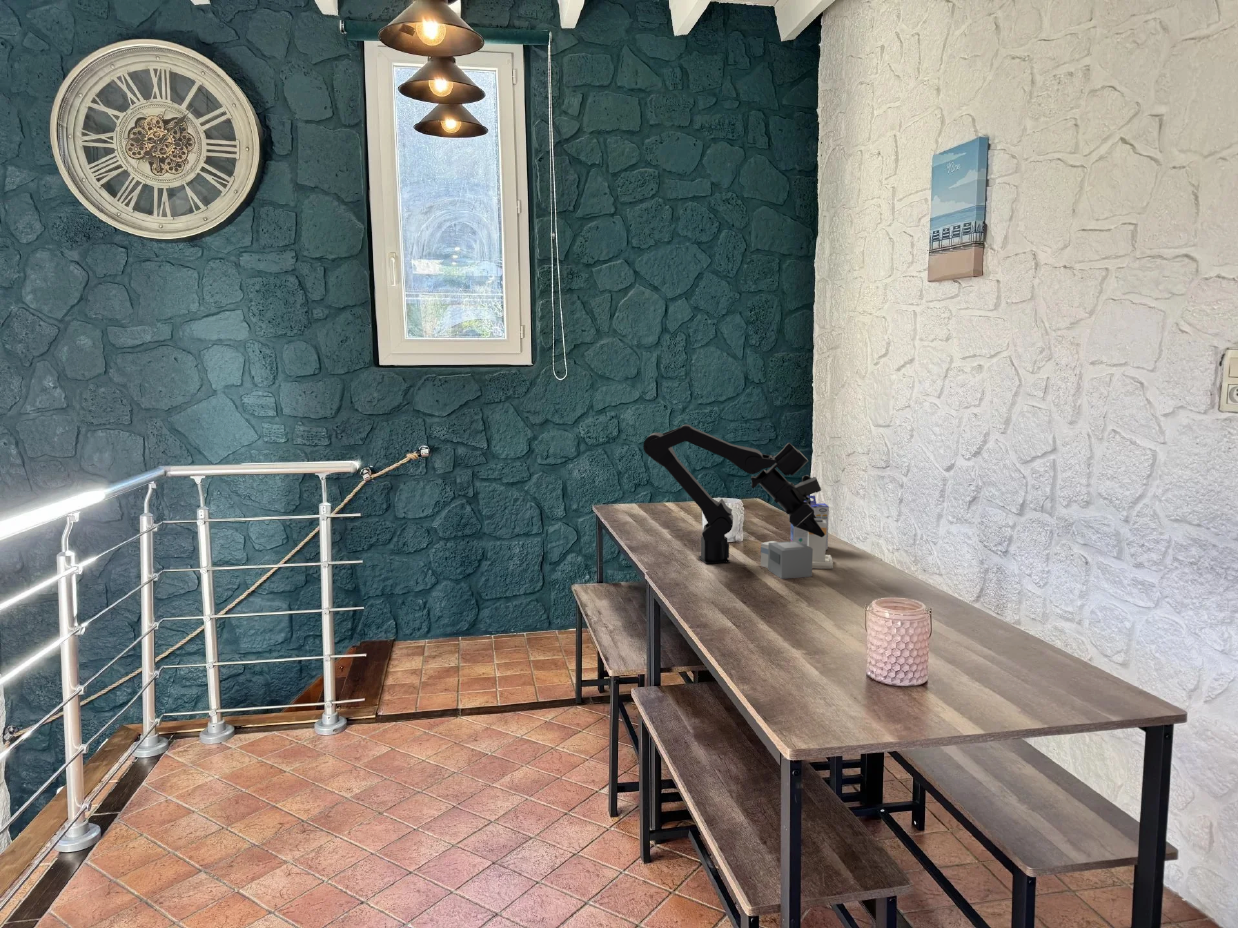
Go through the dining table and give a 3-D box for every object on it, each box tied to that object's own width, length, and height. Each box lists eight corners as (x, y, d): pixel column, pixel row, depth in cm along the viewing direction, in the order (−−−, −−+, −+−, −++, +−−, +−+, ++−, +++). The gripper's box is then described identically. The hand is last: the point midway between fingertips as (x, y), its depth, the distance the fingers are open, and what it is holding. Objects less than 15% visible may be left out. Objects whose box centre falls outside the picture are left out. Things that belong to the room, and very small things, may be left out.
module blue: (772, 569, 205) (772, 546, 205) (760, 565, 209) (760, 543, 208) (784, 566, 208) (785, 544, 207) (772, 563, 211) (773, 540, 210)
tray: (800, 567, 207) (800, 561, 207) (798, 559, 215) (798, 553, 214) (833, 568, 205) (833, 563, 205) (830, 560, 213) (830, 554, 213)
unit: (780, 578, 197) (781, 550, 196) (767, 570, 205) (768, 542, 204) (812, 576, 199) (813, 547, 198) (798, 567, 207) (798, 540, 206)
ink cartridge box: (824, 545, 229) (825, 494, 227) (828, 550, 224) (830, 498, 222) (789, 545, 230) (790, 494, 227) (792, 550, 224) (794, 498, 222)
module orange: (807, 562, 208) (809, 520, 206) (806, 558, 212) (808, 517, 211) (825, 563, 207) (826, 521, 206) (823, 559, 212) (825, 517, 210)
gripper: (804, 472, 198) (850, 518, 198) (800, 461, 216) (841, 503, 216) (771, 503, 200) (815, 548, 200) (769, 490, 218) (810, 531, 218)
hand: (822, 531), depth 209 cm, fingers open, 9 cm apart
